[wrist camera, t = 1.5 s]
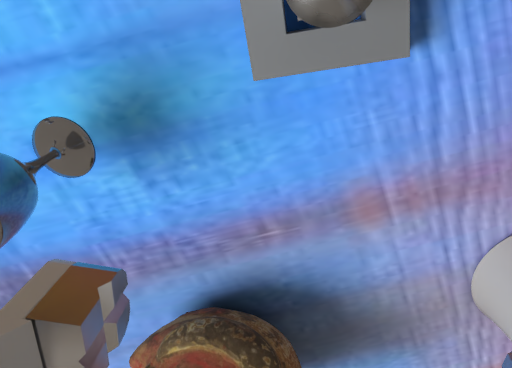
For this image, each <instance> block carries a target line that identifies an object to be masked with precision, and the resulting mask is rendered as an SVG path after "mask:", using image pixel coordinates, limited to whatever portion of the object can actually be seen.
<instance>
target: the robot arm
mask: <svg viewBox="0 0 512 368" xmlns="http://www.w3.org/2000/svg"><path fill="white" fill-rule="evenodd" d="M127 285H128V282H127V274H126V272H125V271H124V270H123V269H118V268H112V267H105V266H99V265H93V264H87V263H81V262H77V263H76V262H71V261H65V260H59V259H54V260H51V261H48V262H47V263H46V264H45V265H44V266H43V267H42V268H41V269H40V270H39V271H38V272H37V273H36V274H35V275H34V276H33V277H32V278H31V279H30V280H29V281H28V282H27V283H26V284H25V285H24V286H23V287H22V288H21V289H20V290H19V291H18V293H17V294H16V295H15V296H14V297H13V298H12V299H11V300H10V301H9V302H8V303H7V304H6V305H5V306H4V307H3V308H2V309H1V310H0V368H107V367H108V366H109V360H108V353H109V352H110V351H112V350H113V349H115V348H116V347H118V346H119V345H120V343H121V341H122V339H123V337H124V335H125V332H126V328H127V325H128V322H129V315H130V302H129V299H128V298H127V297H126V296H125V295H124V294H123V292H124V290H125V288H126V287H127ZM471 292H472V297H473V300H474V302H475V304H476V306H477V307H478V308H479V310H480V311H481V312H482V313H483V314H484V315H486V316H487V317H488V318H489V319H490V320H492V321H493V322H494V323H495V324H496V325H497V326H498V327H499V328H500V329H501V330H502V331H503V332H504V334H505V335H506V336H507V337H508V338H509V339H510V340H511V342H512V236H510V237H508V238H506V239H505V240H503V241H501V242H500V243H499V244H497V245H496V246H495V247H493V248H492V249H491V250H490V251H489V252H488V253H487V254H486V255H485V256H484V257H483V259H482V260H481V261H480V263H479V264H478V266H477V268H476V270H475V272H474V275H473V278H472V283H471ZM502 368H512V352H510V353H508V354H507V356H506V358H505V360H504V362H503V365H502Z"/></svg>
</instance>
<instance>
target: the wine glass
mask: <svg viewBox="0 0 512 368" xmlns="http://www.w3.org/2000/svg"><path fill="white" fill-rule="evenodd" d="M32 145H33V149H34V152H35V154H36V156H37V157H38V159H35V160H32V161H29V162H21V161H19V160H17V159H15V158H13V157H11V156H9V155H6V154H2V153H0V248H2V247H3V246H4V245H5V244H6V243H7V242H9V241H10V240H11V239H12V238H13V237H14V236H15V235H16V234H17V233H18V232H19V231H20V229H21V228H22V227H23V226H24V225H25V224H26V222H27V221H28V219H29V218H30V216H31V215H32V213H33V212H34V210H35V207H36V205H37V201H38V187H37V183H36V180H35V176H36V174H37V172H38V171H39V170H40V169H41V168H42V167H43V166H45V167H46V168H47V169H49V170H50V171H52V172H53V173H55V174H57V175H60V176H62V177H67V178H76V177H80V176H83V175H85V174H86V173H88V172H89V171H90V169H91V168H92V166H93V164H94V160H95V151H94V146H93V144H92V141H91V139H90V138H89V136H88V135H87V133H86V132H85V131H84V130H83V129H82V128H81V127H80V126H79V125H77V124H76V123H74V122H73V121H71V120H68V119H66V118H62V117H49V118H45V119H43V120H42V121H40V122H39V123H38V124H37V125H36V127H35V129H34V130H33V134H32Z"/></svg>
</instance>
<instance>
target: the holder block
mask: <svg viewBox="0 0 512 368" xmlns="http://www.w3.org/2000/svg"><path fill="white" fill-rule="evenodd" d="M240 3H241V9H242V15H243V21H244V26H245V32H246V38H247V44H248V50H249V56H250V62H251V68H252V74H253V80H254V81H257V80H263V79H270V78H276V77H283V76H289V75H296V74H302V73H308V72H315V71H321V70H328V69H334V68H340V67H347V66H353V65H360V64H366V63H373V62H379V61H385V60H392V59H398V58H405V57H410V0H373V1H372V2H371V3H370V5H369V6H368V8H367V9H366V10H365V11H364V12H363V13H362V14H361V19H358V20H353V21H351V22H349V23H347V24H344V25H342V26H338V27H333V28H321V27H312V28H307V29H301V30H295V31H290V32H287V25H286V17H285V9H284V1H283V0H240Z"/></svg>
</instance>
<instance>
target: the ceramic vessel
mask: <svg viewBox="0 0 512 368" xmlns="http://www.w3.org/2000/svg"><path fill="white" fill-rule="evenodd" d="M129 363H130V367H131V368H301V365H300V362H299V360H298V357H297V355H296V353H295V350H294V349H293V347H292V345H291V343H290V342H289V341H288V339H287V338H286V337H285V336H284V335H283V334H282V333H281V332H280V331H279V330H278V329H276V328H275V327H274V326H272V325H271V324H269V323H268V322H266V321H264V320H263V319H261V318H259V317H257V316H254V315H251V314H248V313H244V312H240V311H234V310H229V309H224V308H217V307H211V308H205V309H200V310H196V311H192V312H187V313H186V314H183V315H181V316H180V317H178V318H177V319H175V320H174V321H172V322H170V323H168V324H167V325H165V326H163V327H162V328H160V329H159V330H157V331H156V332H154V333H153V334H152V335H151V336H149V337H148V338H147V339H146V340H145V341H144V342H143V343H142V344H141V345H140V346H139V347H138V348H137V349H136V350H135V352H134V353H133V354H132V356H131V357H130V360H129Z"/></svg>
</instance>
